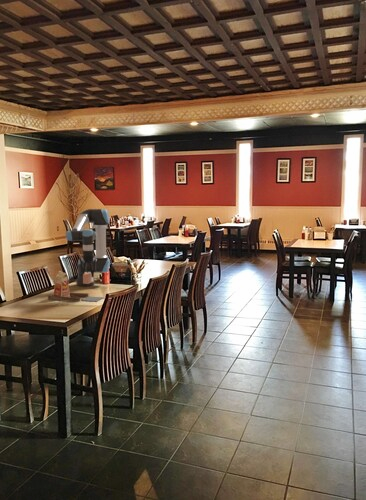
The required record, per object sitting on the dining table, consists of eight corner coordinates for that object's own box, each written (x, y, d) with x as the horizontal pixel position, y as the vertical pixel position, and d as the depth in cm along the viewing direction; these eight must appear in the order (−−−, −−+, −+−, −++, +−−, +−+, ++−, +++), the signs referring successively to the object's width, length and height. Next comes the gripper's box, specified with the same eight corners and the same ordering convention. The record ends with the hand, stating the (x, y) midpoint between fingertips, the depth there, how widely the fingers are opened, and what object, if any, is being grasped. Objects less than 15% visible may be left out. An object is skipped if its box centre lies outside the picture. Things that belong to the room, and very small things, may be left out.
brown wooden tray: (58, 295, 322) (58, 291, 322) (88, 296, 317) (88, 293, 317) (48, 299, 307) (48, 296, 307) (79, 301, 302) (79, 297, 302)
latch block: (89, 281, 321) (89, 272, 320) (94, 281, 320) (94, 272, 319) (83, 283, 312) (82, 274, 311) (88, 283, 311) (87, 274, 310)
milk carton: (53, 298, 311) (52, 271, 309) (62, 295, 319) (61, 269, 317) (62, 299, 307) (61, 272, 305) (71, 297, 315) (70, 270, 313)
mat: (88, 297, 315) (88, 296, 315) (103, 298, 313) (103, 297, 313) (81, 300, 304) (81, 300, 304) (96, 301, 301) (96, 301, 301)
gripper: (75, 250, 311) (76, 281, 314) (96, 251, 307) (97, 282, 310) (79, 249, 318) (80, 279, 322) (100, 249, 314) (101, 280, 318)
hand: (88, 281), depth 316 cm, fingers closed on latch block, 4 cm apart
